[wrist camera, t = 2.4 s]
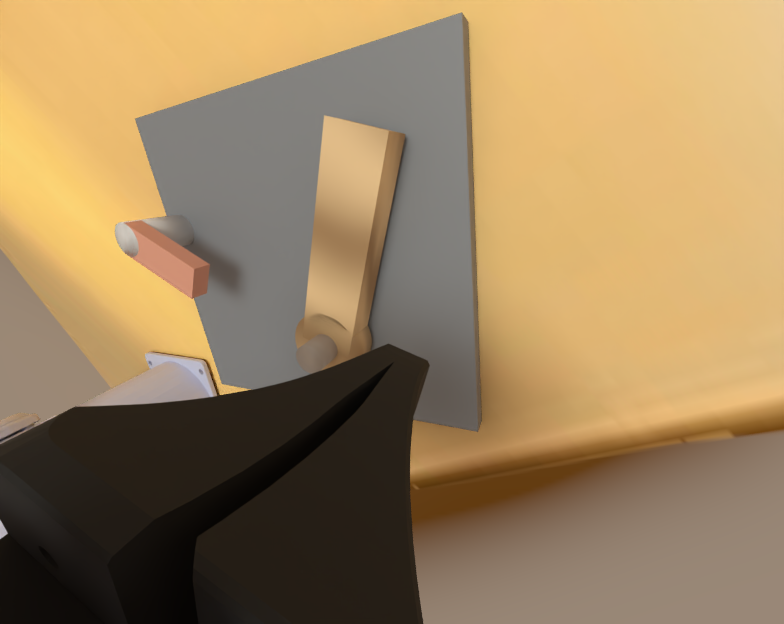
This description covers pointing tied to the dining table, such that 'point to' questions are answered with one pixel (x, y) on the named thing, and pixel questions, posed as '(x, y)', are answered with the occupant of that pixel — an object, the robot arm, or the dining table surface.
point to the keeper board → (297, 209)
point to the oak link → (347, 240)
